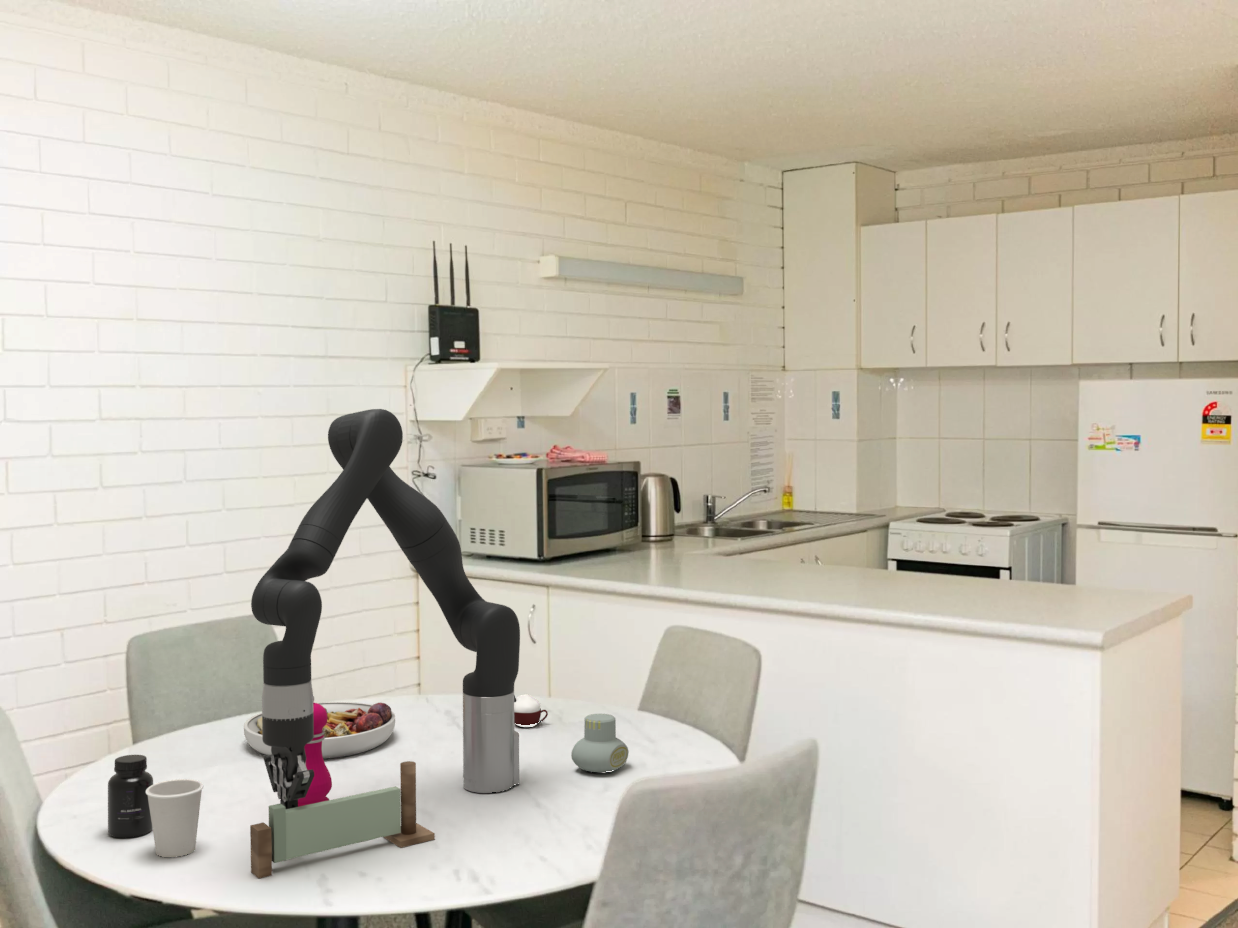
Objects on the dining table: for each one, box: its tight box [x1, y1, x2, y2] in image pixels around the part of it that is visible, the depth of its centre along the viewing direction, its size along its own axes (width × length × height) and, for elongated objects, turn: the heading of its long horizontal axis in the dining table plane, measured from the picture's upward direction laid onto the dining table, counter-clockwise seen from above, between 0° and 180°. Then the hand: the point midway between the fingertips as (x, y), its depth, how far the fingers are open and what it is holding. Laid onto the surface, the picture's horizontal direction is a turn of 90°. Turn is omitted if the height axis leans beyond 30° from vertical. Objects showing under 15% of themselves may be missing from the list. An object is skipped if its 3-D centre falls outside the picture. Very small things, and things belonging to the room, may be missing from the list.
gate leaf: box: [268, 786, 401, 864], centre depth 184 cm, size 21×2×8 cm, turn 128°
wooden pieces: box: [249, 760, 436, 879], centre depth 185 cm, size 28×6×12 cm, turn 128°
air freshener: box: [571, 713, 630, 773], centre depth 228 cm, size 11×8×10 cm
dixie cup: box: [146, 778, 204, 858], centre depth 186 cm, size 8×8×10 cm
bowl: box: [243, 701, 396, 760], centre depth 247 cm, size 30×30×8 cm
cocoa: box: [514, 693, 549, 725], centre depth 260 cm, size 10×6×12 cm, turn 74°
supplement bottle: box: [107, 754, 154, 839], centre depth 195 cm, size 7×7×12 cm
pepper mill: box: [298, 695, 333, 807], centre depth 204 cm, size 7×7×20 cm
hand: (289, 823), depth 184 cm, fingers closed
